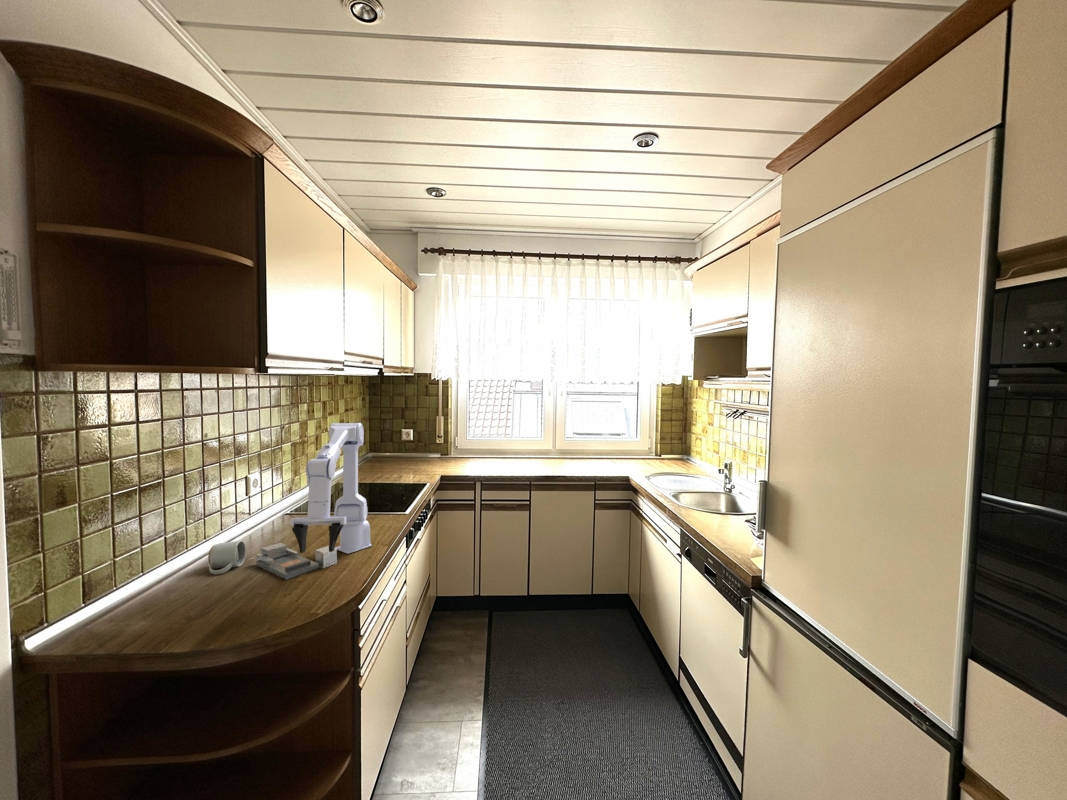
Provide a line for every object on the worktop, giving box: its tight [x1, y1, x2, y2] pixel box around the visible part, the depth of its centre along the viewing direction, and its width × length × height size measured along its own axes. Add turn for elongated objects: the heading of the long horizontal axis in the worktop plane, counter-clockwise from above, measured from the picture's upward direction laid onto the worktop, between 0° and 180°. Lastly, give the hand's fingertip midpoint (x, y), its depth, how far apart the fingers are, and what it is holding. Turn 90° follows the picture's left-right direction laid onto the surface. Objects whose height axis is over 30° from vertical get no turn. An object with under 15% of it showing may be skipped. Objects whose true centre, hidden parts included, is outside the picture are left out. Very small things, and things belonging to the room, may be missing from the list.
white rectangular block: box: [314, 545, 338, 569], centre depth 146 cm, size 4×4×5 cm
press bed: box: [255, 547, 320, 580], centre depth 144 cm, size 10×20×3 cm, turn 55°
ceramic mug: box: [207, 540, 247, 575], centre depth 143 cm, size 11×8×8 cm
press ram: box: [260, 542, 288, 559], centre depth 148 cm, size 6×4×3 cm, turn 145°
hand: (317, 551), depth 128 cm, fingers open, 7 cm apart
